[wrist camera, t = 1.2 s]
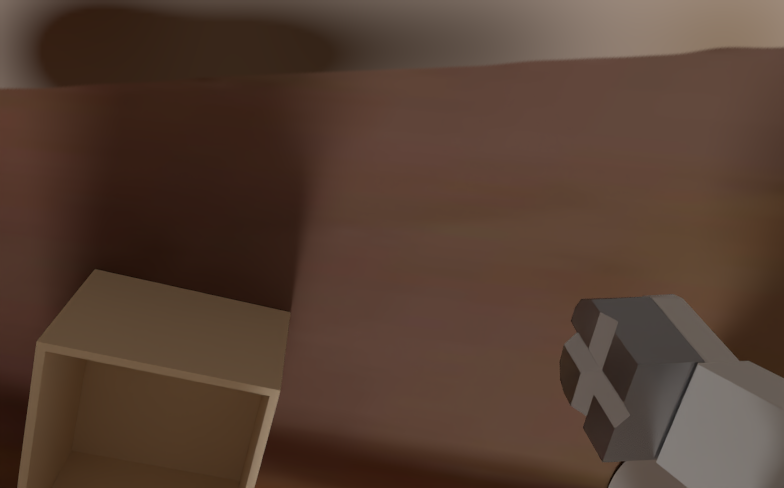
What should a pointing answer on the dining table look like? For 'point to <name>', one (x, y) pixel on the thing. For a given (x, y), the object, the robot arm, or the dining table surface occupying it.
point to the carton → (152, 389)
